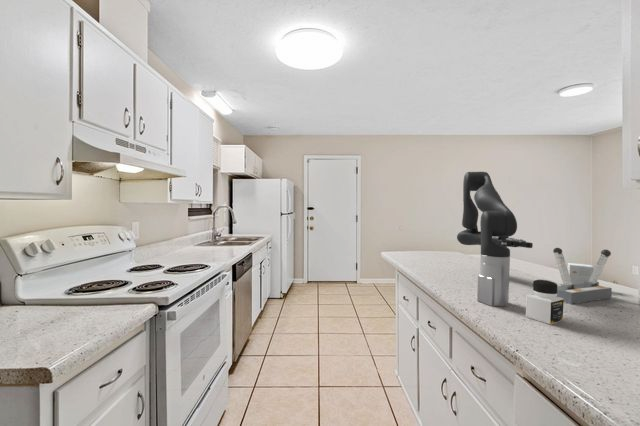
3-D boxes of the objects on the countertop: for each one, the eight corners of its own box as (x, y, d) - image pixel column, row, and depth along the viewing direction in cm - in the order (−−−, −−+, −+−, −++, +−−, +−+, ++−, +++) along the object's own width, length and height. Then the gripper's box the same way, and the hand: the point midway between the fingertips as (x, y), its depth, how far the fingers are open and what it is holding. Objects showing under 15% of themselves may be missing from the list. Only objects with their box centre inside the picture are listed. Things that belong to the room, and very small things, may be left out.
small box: (590, 288, 132) (591, 264, 131) (593, 291, 127) (594, 266, 127) (566, 285, 136) (567, 262, 136) (568, 288, 131) (569, 264, 131)
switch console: (571, 304, 110) (571, 288, 110) (547, 297, 117) (548, 282, 117) (611, 298, 118) (611, 283, 118) (587, 292, 125) (587, 278, 125)
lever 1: (570, 288, 113) (557, 247, 117) (562, 289, 116) (550, 248, 120) (575, 288, 114) (562, 247, 118) (567, 288, 117) (555, 248, 121)
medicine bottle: (550, 325, 90) (552, 284, 89) (525, 317, 96) (526, 279, 96) (563, 321, 93) (564, 282, 93) (537, 313, 99) (538, 277, 99)
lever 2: (592, 287, 118) (609, 251, 113) (584, 284, 121) (600, 248, 116) (597, 287, 119) (614, 251, 114) (589, 283, 122) (605, 248, 117)
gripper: (485, 232, 142) (520, 237, 126) (505, 232, 147) (542, 236, 131) (484, 248, 143) (520, 255, 126) (504, 247, 147) (541, 253, 131)
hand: (531, 245), depth 128 cm, fingers closed
